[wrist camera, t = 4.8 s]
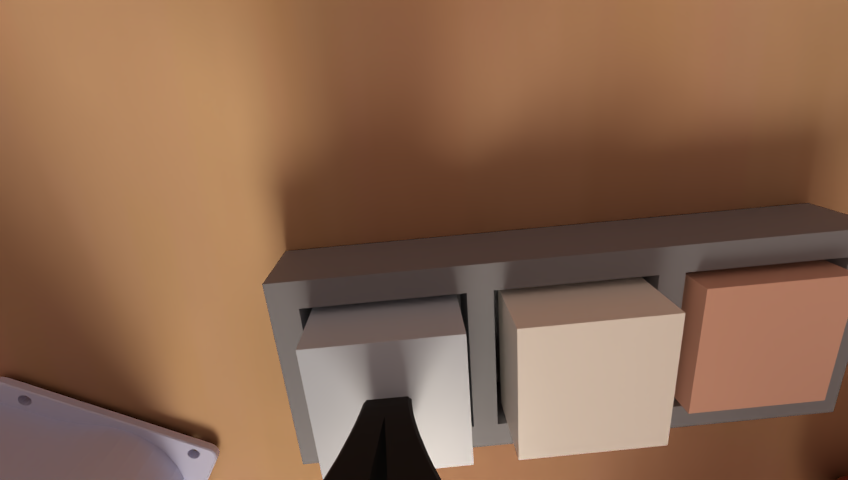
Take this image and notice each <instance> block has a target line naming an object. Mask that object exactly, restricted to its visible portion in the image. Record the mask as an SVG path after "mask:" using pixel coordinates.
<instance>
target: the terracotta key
mask: <svg viewBox="0 0 848 480" xmlns="http://www.w3.org/2000/svg"><path fill="white" fill-rule="evenodd" d="M681 310H682V311H684V312H685V313H686V314H685V321H684V328H683V336H682V343H681V350H680V358H679V365H678V373H677V380H676V387H675V395H674V397H675V399H676V400H677V401H678V402H679V403H680V404H681V405H682V407H683V408H684V409H685V410H686V411H687V412H688V414H691V413H701V412H712V411H722V410H732V409H742V408H752V407H762V406H773V405H783V404H793V403H803V402H813V401H823V400H825V398H826V394H827V390H828V387H829V383H830V380H831V376H832V372H833V369H834V365H835V362H836V358H837V354H838V351H839V347H840V344H841V340H842V337H843V333H844V329H845V326H846V322H847V319H848V270H847V269H845V268H842V267H840V266H838V265H835V264H833V263H830V262H828V261H826V260H814V261H803V262H793V263H782V264H771V265H761V266H750V267H739V268H729V269H718V270H707V271H697V272H686V276H685V284H684V291H683V299H682V306H681Z"/></svg>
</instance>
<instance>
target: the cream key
mask: <svg viewBox="0 0 848 480" xmlns="http://www.w3.org/2000/svg"><path fill="white" fill-rule="evenodd" d="M498 310H499V347H500V384H501V404H502V407H503V411H504V414H505V417H506V420H507V424H508V427H509V430H510V433H511V437H512V440H513V443H514V446H515V450H516V453H517V456H518V460H525V459H535V458H545V457H555V456H565V455H575V454H585V453H595V452H605V451H615V450H625V449H635V448H645V447H656V446H666V445H668V439H669V431H670V424H671V417H672V409H673V402H674V395H675V387H676V380H677V373H678V365H679V358H680V350H681V343H682V336H683V328H684V321H685V314H686V313H685V312H684V311H682V310H681V309H680V308H679V307H678V306H676V305H675V304H674V303H673V302H671V301H670V300H669V299H668V298H666V297H665V296H664V295H663V294H662V293H660V292H659V291H658V290H657V289H655V288H654V287H653V286H652V285H651V284H649V283H648V282H647V281H646V280H644V279H643V278H642V277H633V278H622V279H611V280H601V281H590V282H579V283H569V284H558V285H547V286H537V287H526V288H515V289H505V290H498Z"/></svg>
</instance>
